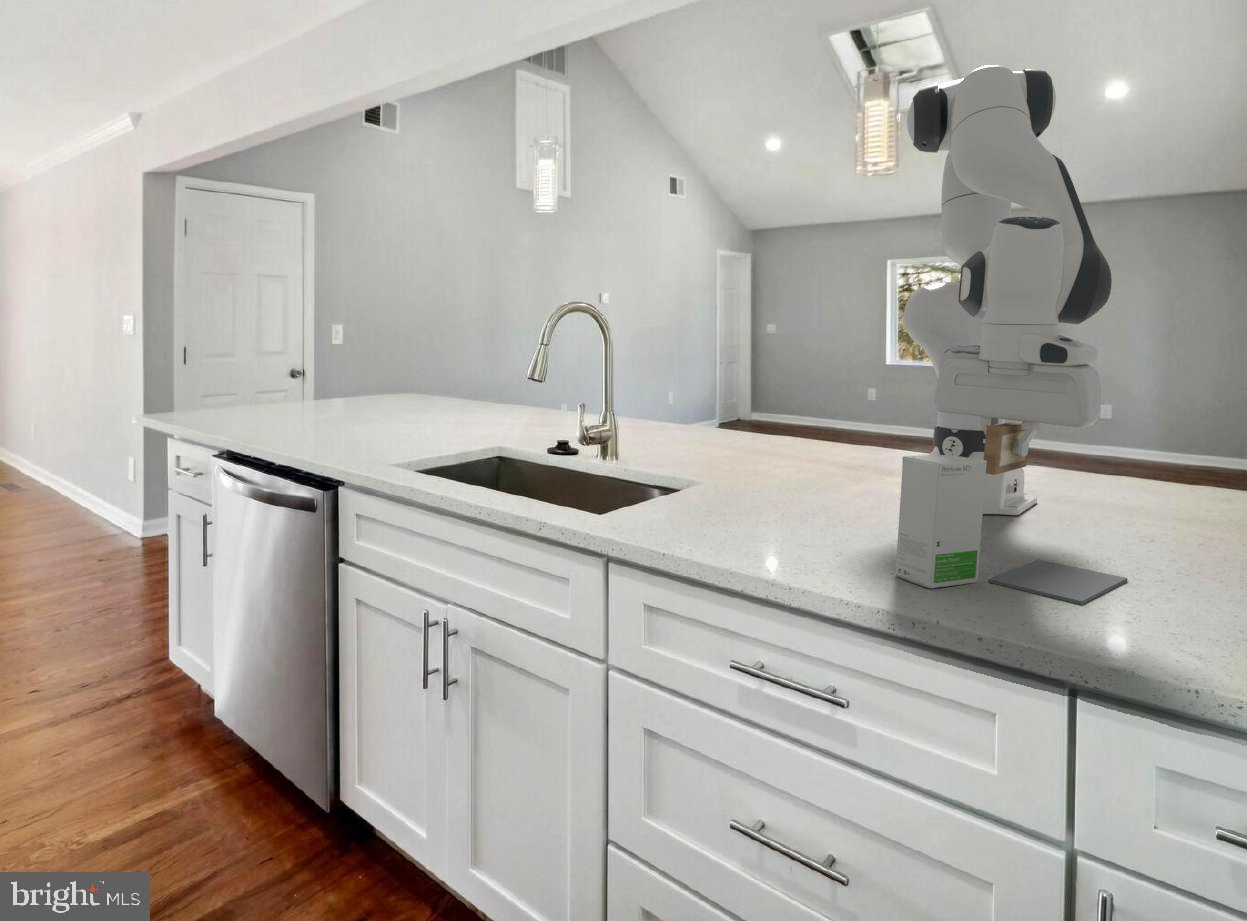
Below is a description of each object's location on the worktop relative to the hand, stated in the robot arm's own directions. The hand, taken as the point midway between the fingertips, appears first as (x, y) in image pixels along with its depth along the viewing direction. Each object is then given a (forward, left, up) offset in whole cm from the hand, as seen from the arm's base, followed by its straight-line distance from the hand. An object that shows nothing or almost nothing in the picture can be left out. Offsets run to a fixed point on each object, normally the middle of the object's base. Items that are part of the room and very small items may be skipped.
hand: (1006, 453), depth 108 cm
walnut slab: (0, 0, -2) cm, 2 cm away
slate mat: (+1, +8, -15) cm, 17 cm away
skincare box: (+12, -2, -15) cm, 20 cm away
